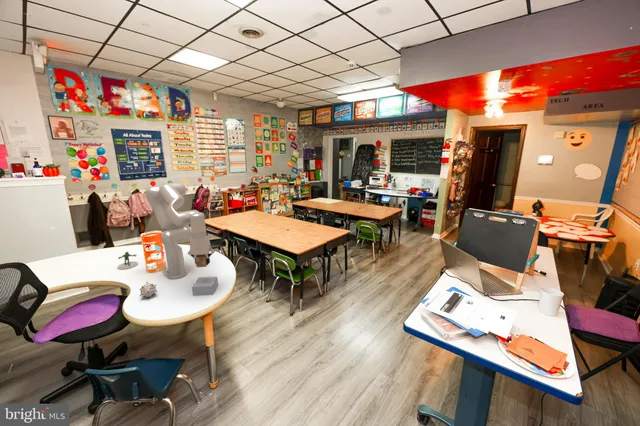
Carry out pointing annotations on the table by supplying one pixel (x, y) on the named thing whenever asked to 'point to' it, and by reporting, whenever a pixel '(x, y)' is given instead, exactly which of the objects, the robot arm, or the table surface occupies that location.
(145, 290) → the game die
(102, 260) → the table surface
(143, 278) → the table surface
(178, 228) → the robot arm
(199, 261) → the copper block
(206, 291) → the slate base
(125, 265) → the monster figurine
